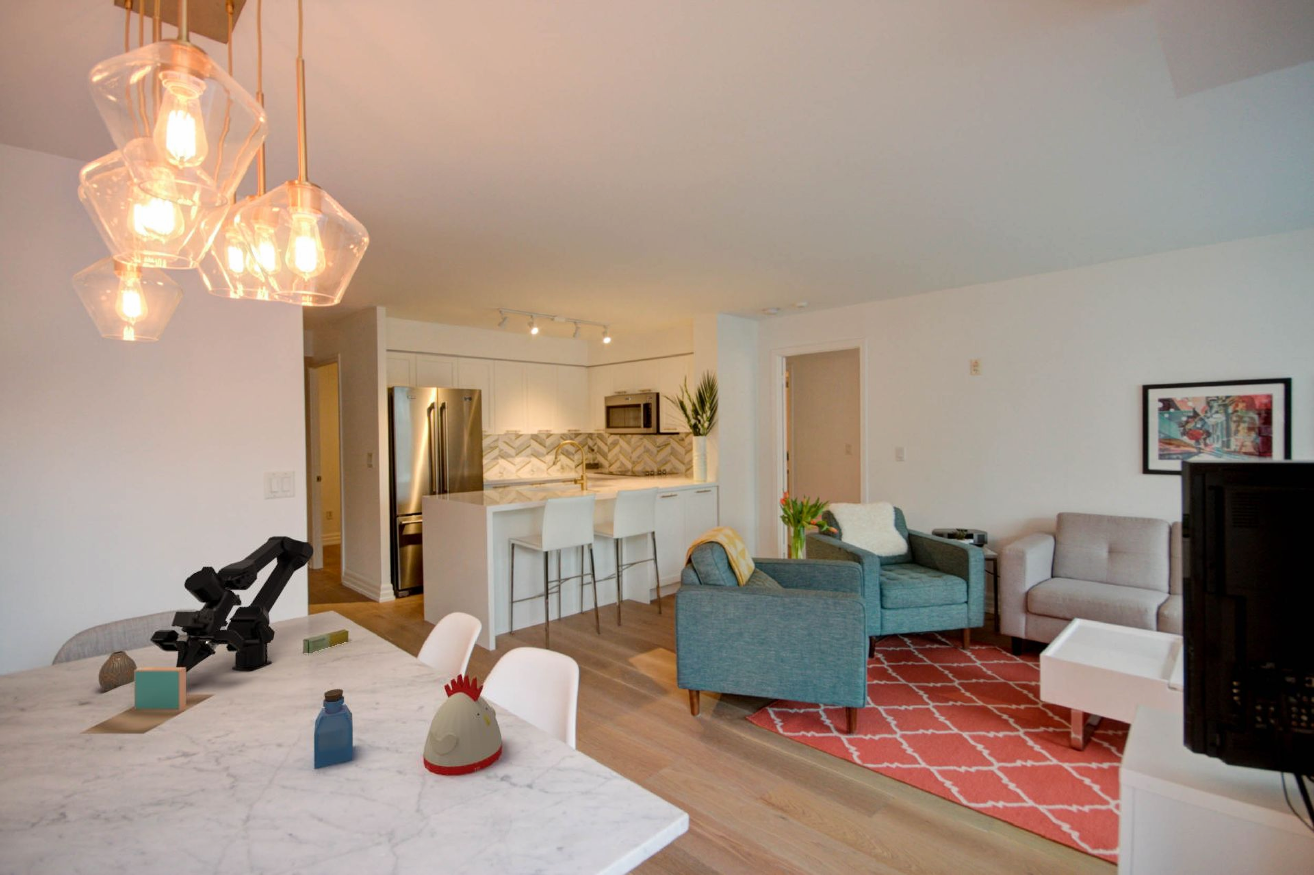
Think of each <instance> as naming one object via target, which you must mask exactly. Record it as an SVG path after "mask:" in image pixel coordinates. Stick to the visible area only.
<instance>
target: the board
mask: <svg viewBox="0 0 1314 875" xmlns="http://www.w3.org/2000/svg"><path fill="white" fill-rule="evenodd" d="M215 695H216V694H214V693H213V694H211V693H210V694H209V693H208V694H207V693H206V694H205V693H202V694H201V693H200V694H199V693H197V694H196V693H194V694H193V693H192V694H190V693H186V707H184V708H182V709H181V710H134V706H133V707H131V708H128V709H126V710H124V711H123V712H121V713H118V714H116V715H114V716H112V717H110V718H108V719H106V720H104V721H102V722H99V723H98V724H96V725H93V726H91V727H89V728H88V729H86V730H83V731H81V732H80V734H105V735H106V734H107V735H108V734H112V735H113V734H116V735H117V734H119V735H121V734H122V735H123V734H124V735H125V734H131V735H132V734H133V735H134V734H135V735H136V734H138V735H140V734H141V735H142V734H147V733H148V732H149V731H151V730H153V729H155V728H157V727H159V726H160V725H162V724H165V723H166V722H168V721H169V720H172V719H173V718H175V717H178V716H179V715H181V714H183V713H184V712H186V711H188V710H189V709H191V708H194V707H195V706H197V705H199V704H201V703H202V702H204V701H206V700H207V699H210V698H212V697H213V696H215Z"/></svg>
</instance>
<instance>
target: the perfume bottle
mask: <svg viewBox="0 0 1314 875" xmlns="http://www.w3.org/2000/svg"><path fill="white" fill-rule="evenodd" d="M343 693H344V690H343V689H341V688H334V689H330V690H327V691H326V692H324V693H323V697H324V699H323V702H322V706H323V708H321V709H320V711H319V713H318V715H317V717H316V719H315V722H314V729H313V731H314V732H313V756H314V757H313V760H314V761H313V769H314V770H317V769H321V768H326V767H330V766H335V765H340V764H345V763H349V762H354V761H353V760H354V741H353V740H354V738H353V736H354V735H353V734H354V731H353V730H354V729H353V728H354V727H353V726H354V725H353V724H354V723H353V713H352V712H351V710H350V708H349V707H348V705H347V704H346V703H345V696H344V695H343ZM344 703H345V704H344Z"/></svg>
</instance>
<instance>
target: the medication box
mask: <svg viewBox="0 0 1314 875" xmlns="http://www.w3.org/2000/svg"><path fill="white" fill-rule="evenodd" d="M349 632H350V631H349V630H347V629H341V630H340V629H339V630H336V631H332V632H327V633H323V634H320V635H317V636H311V637H308V638H304V639H303V640H302V654H304V653H311V654H314V653H313V652H315V651H318V652H320V651H319V650H321V649H325V648H328V647H332V646H335V645H337V644H342V643H344V642H349ZM332 648H333V647H332ZM325 650H326V649H325ZM315 653H316V652H315Z"/></svg>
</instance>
